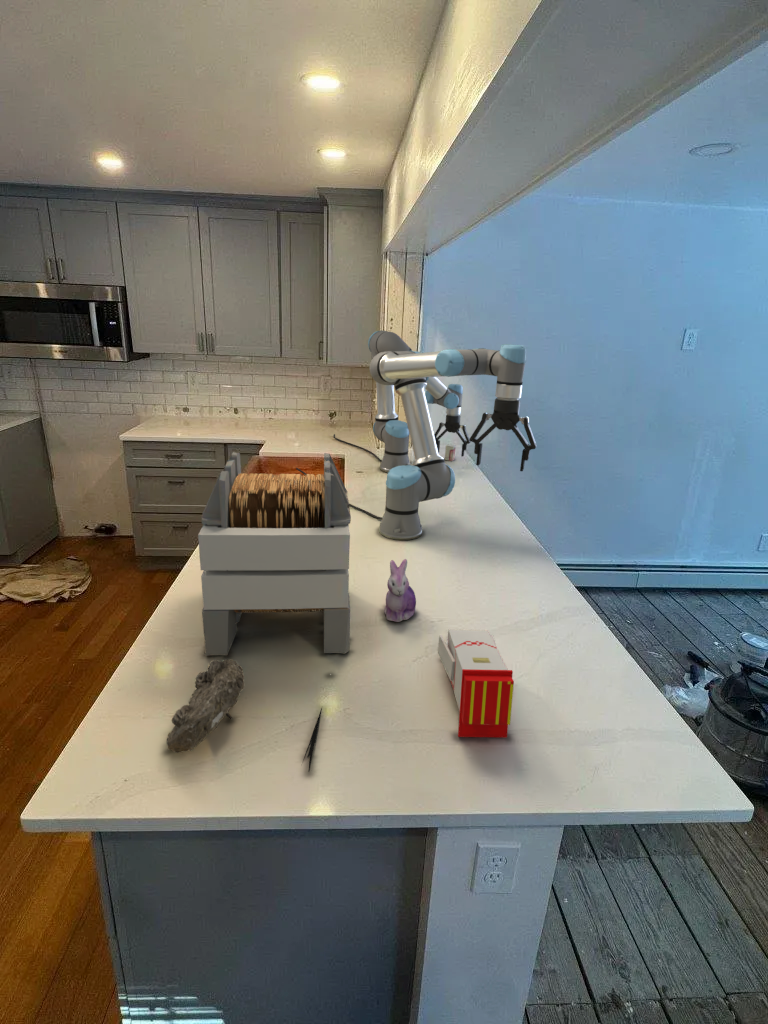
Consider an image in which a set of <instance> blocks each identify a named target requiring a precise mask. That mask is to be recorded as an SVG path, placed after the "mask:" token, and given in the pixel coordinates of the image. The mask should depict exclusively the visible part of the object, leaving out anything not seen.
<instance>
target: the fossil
mask: <svg viewBox="0 0 768 1024" xmlns="http://www.w3.org/2000/svg"><path fill="white" fill-rule="evenodd" d="M243 670H244V669H243V667H242V665H240V664H237V662H236V661H235V660H234V659H232V658H231V659H227V658H226V659H224V660H223V661H222V660H217V659H212V660H211V661H210V663H209V665H208V666H207V671H201V672H199V673H198V674H197V675H196V676H195V680H194V684H195V685H194V687H195V689H194V690H193V693H192V694H191V697H190V698H189V700H188V704H184V705H182V706H181V707H180V709H177V710H176V711H175V713H174V715H173V716H172V718H171V723H172V724H173V727H172V730H171V731H170V732H168V734H167V738H166V741H167V742H166V745H167V749H168V750H169V751H173V752H174V753H176V754H178V753H182V752H188V751H189V752H192V751H193V750H195V748H196V747H197V746H199V744H200V743H201V742H203V741H204V740H205V739H206V738H207V737H208V736H209V735H210V734H211V733H212V732H214V730H215V729H217V727H218V726H219V724H220V722H221V721H222V720H223V719H224V718H225V716H226V717H227V719H229V720H233V717H232V715H230V714H229V710H230V709H231V708H234V706H235V704H236V703H237V702H238V699H239V697H240V695H241V693H242V691H243V690H245V689H244V688H245V675H244V671H243Z"/></svg>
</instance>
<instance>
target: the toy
mask: <svg viewBox="0 0 768 1024" xmlns="http://www.w3.org/2000/svg"><path fill="white" fill-rule="evenodd" d="M446 640H447V643H446V641H445V639H444V636H443V635H442V634H439V637H438V646H437V656H438V657H439V659H440V661H441V663H442V666H443V668H444V670H445V672H446V674H447V677H448V679H449V681H450V684H451V687H452V690H453V693H454V697H455V701H456V705H457V708H458V711H459V714H458V715H459V716H458V730H457V731H458V732H457V737H458V738H508V731H509V726H510V725H511V717H512V707H513V697H514V696H513V695H514V684H515V680H514V679H513V673H514V671H513V670H512V669H508V667H507V665H506V662H505V661H504V659H503V658H502V655H501V653H500V651H499V649H498V647H497V643H496V639H495V637H494V635H493V634H491V632H490V631H489V629H467V628H466V629H465V628H463V629H461V628H460V629H459V628H448V630H447V639H446Z"/></svg>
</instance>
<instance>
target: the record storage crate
mask: <svg viewBox="0 0 768 1024" xmlns="http://www.w3.org/2000/svg"><path fill="white" fill-rule="evenodd" d="M241 463H242V462H241V453H240V452H235V451H233V452H231V455H230V457H229V459H227V460H226V463H225V466H224V468H223V470H222V471H220V474H219V475H218V477H217V479H216V482H215V483H214V486H213V489H212V491H211V494H210V495H209V498H208V499H207V502H206V505H205V507H204V509H203V511H202V514H201V517H200V520H201V524H202V527H201V529H200V530H199V532H198V535H197V538H198V550H199V552H198V553H199V563H200V565H199V567H200V571H202V573H201V575H200V580H201V581H200V582H201V594H202V605H203V607H202V609H201V610H202V611H201V617H202V629H203V638H204V639H203V640H204V649H205V650H204V651H205V652H204V655H205V656H206V657H212V656H228V654H229V652H230V650H231V647H232V645H233V643H234V640H235V638H236V635H237V632H238V623H240V620H241V617H242V614H244V613H250V614H251V613H253V614H254V613H257V614H258V613H298V612H301V613H302V612H308V613H309V612H322V614H323V654H344V655H346V654H347V653H349V652H350V639H351V604H350V595H349V594H350V593H349V586H350V585H349V584H350V572H349V571H350V570H349V569H350V549H351V548H350V547H351V545H350V542H351V533H350V532H351V531H350V526H349V525H350V524H351V520H352V516H351V515H352V514H351V509H350V506H349V504H350V502H349V496H348V490H347V488H346V486H345V484H344V482H343V480H342V478H341V474H340V473H339V471H338V469H337V466H336V465H335V462H334V460H333V458H332V455H331V454H330V453H326V452H324V453H323V473H322V474H321V473H318V474H316V475H315V474H314V473H306V474H307V475H304V474H303V475H302V474H301V473H280V474H273V473H244V472H243V473H242V466H241Z"/></svg>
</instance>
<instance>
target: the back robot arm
mask: <svg viewBox="0 0 768 1024" xmlns="http://www.w3.org/2000/svg"><path fill="white" fill-rule="evenodd" d="M367 346H368V347H367V348H368V350H369V352H370V354H371V360H372V359H373V357H374V356H376V355H377V354H379V353H381V352H385V351H413V349H412V348H411V347H410V346H409V345H408V344H407V343H406V342H405V341H404V340H403V339H402V338H401V336H399V334H397V333H395V332H393V331H388V330H382V329H381V330H376V331H374V332H373V333H371V335H370V336H369V337H368V340H367ZM426 382H427V386H426V388H425V389H424V390H426V391H425V392H424V393H425V397H426V401H427V404H431V405H433V404H434V405H439V406H441V407H443V408H445V409H446V410H445V413H446V415H445V422H443V421H442V422H439V424H438V427H437V429H436V431H435V432H434V436H435V441H436V445H437V449H438V454H439V453H440V450H441V449H440V448H441V447H440V445H441V440H440V439H441V438H442V437H443V436H444V435H445V434H446V433H447V432H448V433H451V434H456V435H457V436H458V438H459V439H460V440H461V442H462V444H461V454H460V455H461V457H464V456H465V451H466V450H467V447H468V444H470V443H472V442H471V441H470V440H469V439H470V436H469V434H468V431H467V425H466V424H461V416H462V415H461V414H462V403H463V394H464V387H463V385H462V384H458V383H449V384H448V386H446V385H445V384H444V383H443V382H442V381H441V380H440V379H439V378H438V377H429V379H428V380H427V381H426ZM375 387H376V404H377V414H376V415H375V416H374V423H373V425H372V433H373V435H374V436H375V437H376V439H377V440H379V441H380V442H382V443H383V444H384V451H383V452H384V454H383V455H382V456H383V457H382V459H381V458H380V457H379V456H377V455H376V454H375V453H374V452H373V451H370V450H368V449H367V448H364V447H362V446H359V445H356V444H353V443H350V442H348V441H344V440H342V439H340V438H338V437H336V434H335V433H334V434H333V438H334V440H336V441H339V442H340V443H344V444H346V445H349V446H352V447H355V448H357V449H361V450H363V451H365V452H367V453H369V454H370V455H372V456H374V457H375V458H376V459H377V461H379V462H380V464H379V470H380V471H381V472H383V473H386V474H388V472H389V470H391V469H392V468H394V467H397V466H402V465H405V466H406V465H411V461H410V458H409V446H410V434H409V429H408V425H407V421H404V420H403V421H402V420H399V414H397V412H396V405H395V404H396V403H395V387H394V385H382V384H379V383H378V382H376V381H375ZM443 428H445V429H444V430H443V431H442V432H441V433H440V431H441V430H442V429H443ZM460 429H461V430H462V432H463V434H462V432H461V430H460ZM439 433H440V434H439Z"/></svg>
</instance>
